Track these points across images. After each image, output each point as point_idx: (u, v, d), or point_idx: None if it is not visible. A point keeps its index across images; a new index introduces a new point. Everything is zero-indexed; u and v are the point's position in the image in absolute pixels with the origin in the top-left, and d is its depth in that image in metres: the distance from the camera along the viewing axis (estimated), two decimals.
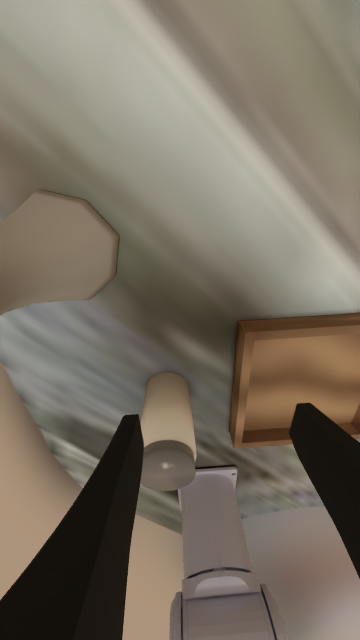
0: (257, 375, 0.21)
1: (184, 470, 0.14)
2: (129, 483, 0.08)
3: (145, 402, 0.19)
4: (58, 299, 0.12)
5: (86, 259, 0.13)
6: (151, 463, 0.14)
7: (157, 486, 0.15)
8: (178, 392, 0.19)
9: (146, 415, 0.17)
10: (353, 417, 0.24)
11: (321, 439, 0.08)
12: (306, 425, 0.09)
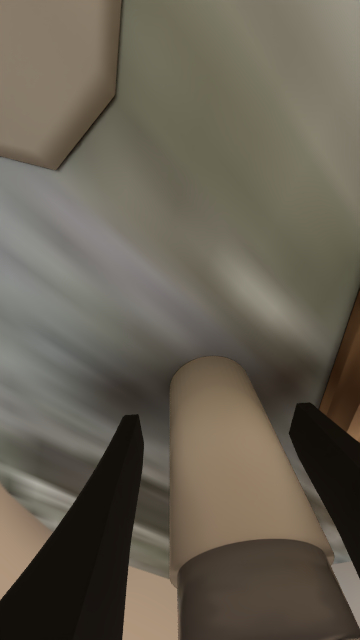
0: None
1: None
2: (129, 483, 0.08)
3: (176, 415, 0.09)
4: None
5: None
6: None
7: None
8: (246, 395, 0.09)
9: (186, 448, 0.07)
10: None
11: (321, 439, 0.08)
12: (306, 425, 0.09)
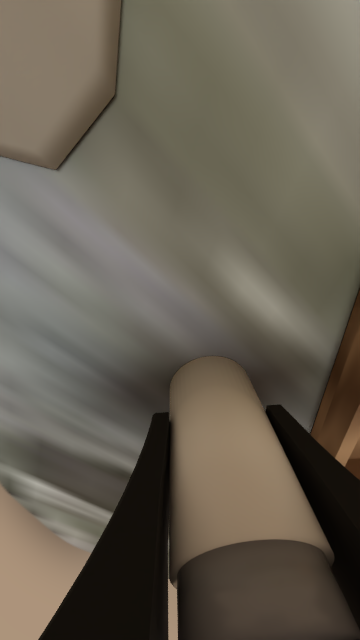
0: None
1: None
2: (166, 480, 0.08)
3: (176, 415, 0.09)
4: None
5: None
6: None
7: None
8: (246, 395, 0.09)
9: (186, 449, 0.07)
10: None
11: (286, 442, 0.08)
12: (274, 427, 0.09)
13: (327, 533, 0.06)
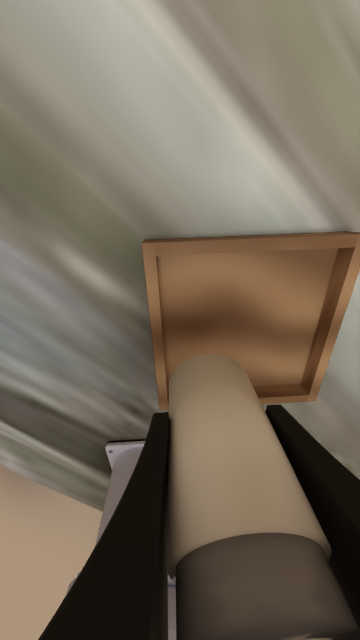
0: (179, 315, 0.17)
1: (326, 637, 0.05)
2: (166, 480, 0.08)
3: (175, 412, 0.09)
4: None
5: None
6: (232, 632, 0.04)
7: None
8: (244, 392, 0.09)
9: (185, 444, 0.07)
10: (302, 376, 0.20)
11: (286, 442, 0.08)
12: (274, 427, 0.09)
13: (327, 533, 0.06)
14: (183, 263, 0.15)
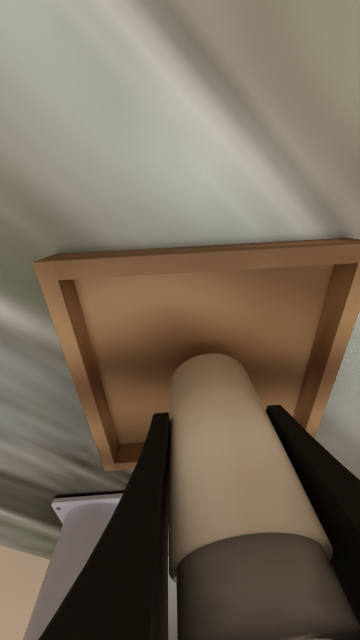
0: (117, 354, 0.13)
1: (327, 637, 0.05)
2: (166, 480, 0.08)
3: (176, 412, 0.09)
4: None
5: None
6: (234, 632, 0.04)
7: None
8: (246, 392, 0.09)
9: (186, 444, 0.07)
10: None
11: (286, 442, 0.08)
12: (274, 427, 0.09)
13: (327, 533, 0.06)
14: (112, 286, 0.11)
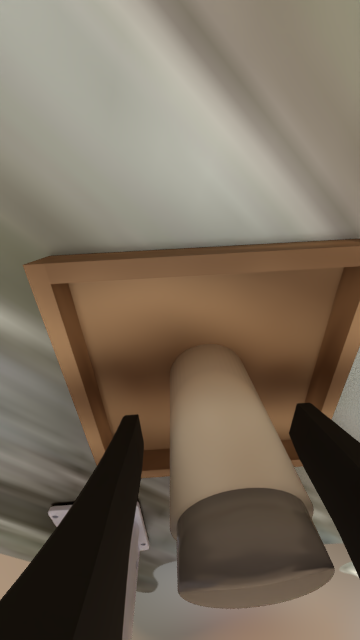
0: (115, 361, 0.12)
1: (305, 574, 0.05)
2: (129, 483, 0.08)
3: (176, 396, 0.10)
4: None
5: None
6: (224, 563, 0.05)
7: (223, 601, 0.06)
8: (239, 377, 0.10)
9: (185, 421, 0.08)
10: None
11: (321, 439, 0.08)
12: (306, 425, 0.09)
13: None
14: (109, 290, 0.10)
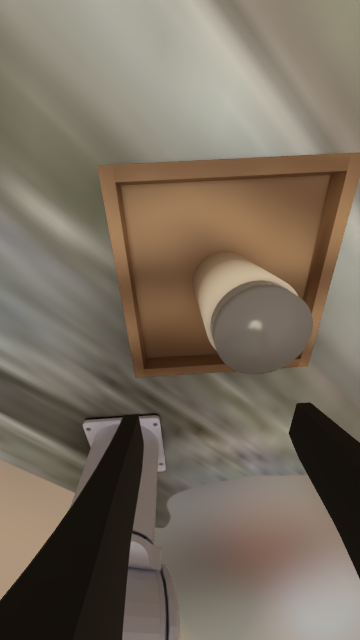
0: (151, 265, 0.15)
1: (295, 326, 0.09)
2: (129, 483, 0.08)
3: (202, 276, 0.13)
4: None
5: None
6: (245, 303, 0.08)
7: (242, 361, 0.09)
8: (250, 261, 0.13)
9: (212, 276, 0.11)
10: None
11: (321, 439, 0.08)
12: (306, 425, 0.09)
13: None
14: (151, 199, 0.13)
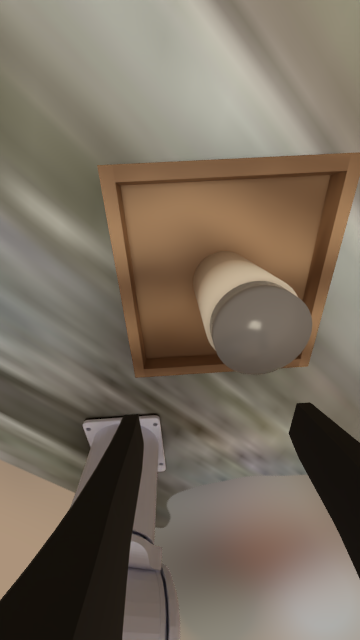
0: (151, 265, 0.15)
1: (294, 326, 0.09)
2: (129, 483, 0.08)
3: (202, 276, 0.13)
4: None
5: None
6: (244, 304, 0.08)
7: (242, 362, 0.09)
8: (249, 261, 0.13)
9: (211, 277, 0.11)
10: None
11: (321, 439, 0.08)
12: (306, 425, 0.09)
13: None
14: (151, 199, 0.13)
